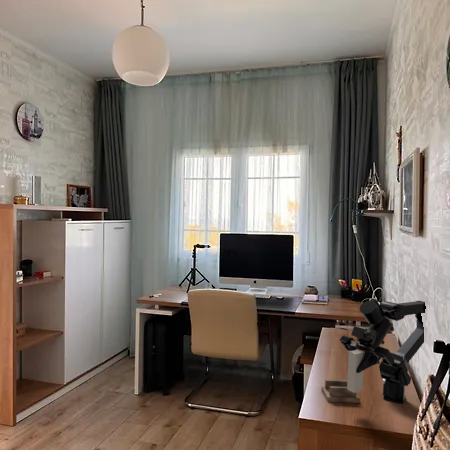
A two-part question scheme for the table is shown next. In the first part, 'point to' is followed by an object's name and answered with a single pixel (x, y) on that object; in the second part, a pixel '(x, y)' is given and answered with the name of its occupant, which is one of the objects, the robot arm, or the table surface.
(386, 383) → the robot arm
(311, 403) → the table surface
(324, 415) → the table surface
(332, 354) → the table surface
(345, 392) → the beige rail channel
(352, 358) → the beige rectangular block
